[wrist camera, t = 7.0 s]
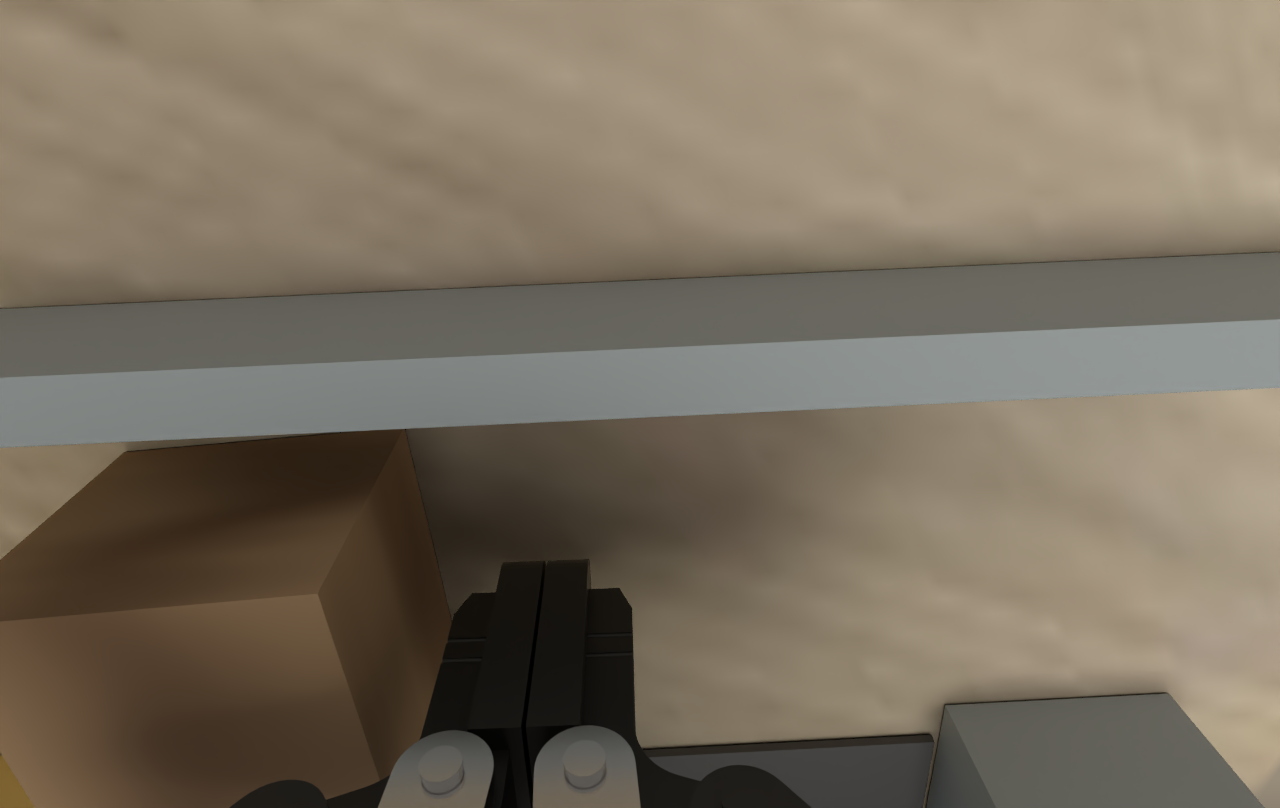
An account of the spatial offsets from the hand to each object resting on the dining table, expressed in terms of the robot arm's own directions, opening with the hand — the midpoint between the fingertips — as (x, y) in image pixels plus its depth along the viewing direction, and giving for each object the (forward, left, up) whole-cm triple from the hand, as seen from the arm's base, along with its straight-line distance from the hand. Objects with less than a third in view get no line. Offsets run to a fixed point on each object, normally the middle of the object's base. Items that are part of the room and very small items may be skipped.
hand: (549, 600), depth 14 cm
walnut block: (-3, +4, -2) cm, 5 cm away
